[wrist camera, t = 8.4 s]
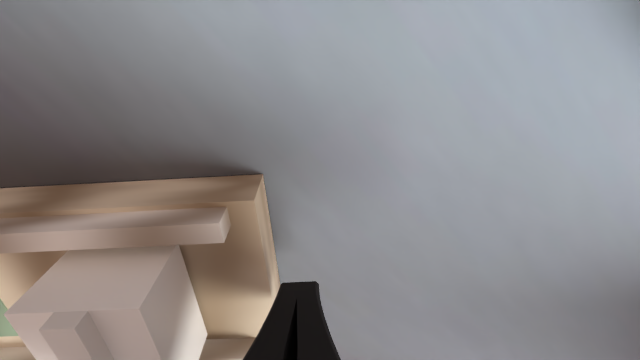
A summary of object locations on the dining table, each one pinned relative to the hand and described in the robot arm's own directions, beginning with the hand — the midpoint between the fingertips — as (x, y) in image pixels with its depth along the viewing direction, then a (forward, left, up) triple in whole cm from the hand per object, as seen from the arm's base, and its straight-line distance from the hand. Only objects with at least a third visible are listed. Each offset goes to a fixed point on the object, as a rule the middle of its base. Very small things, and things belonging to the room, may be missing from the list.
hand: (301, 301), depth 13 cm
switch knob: (+6, 0, -1) cm, 6 cm away
